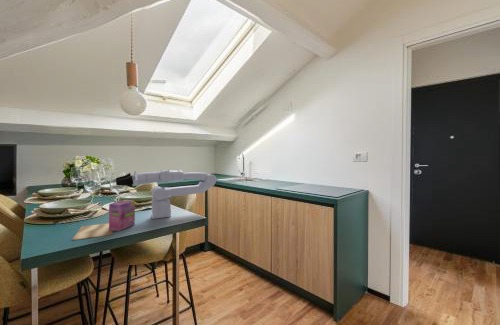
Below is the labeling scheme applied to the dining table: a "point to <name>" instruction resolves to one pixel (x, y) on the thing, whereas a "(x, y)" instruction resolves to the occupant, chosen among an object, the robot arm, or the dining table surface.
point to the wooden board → (93, 231)
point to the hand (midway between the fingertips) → (116, 181)
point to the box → (121, 214)
